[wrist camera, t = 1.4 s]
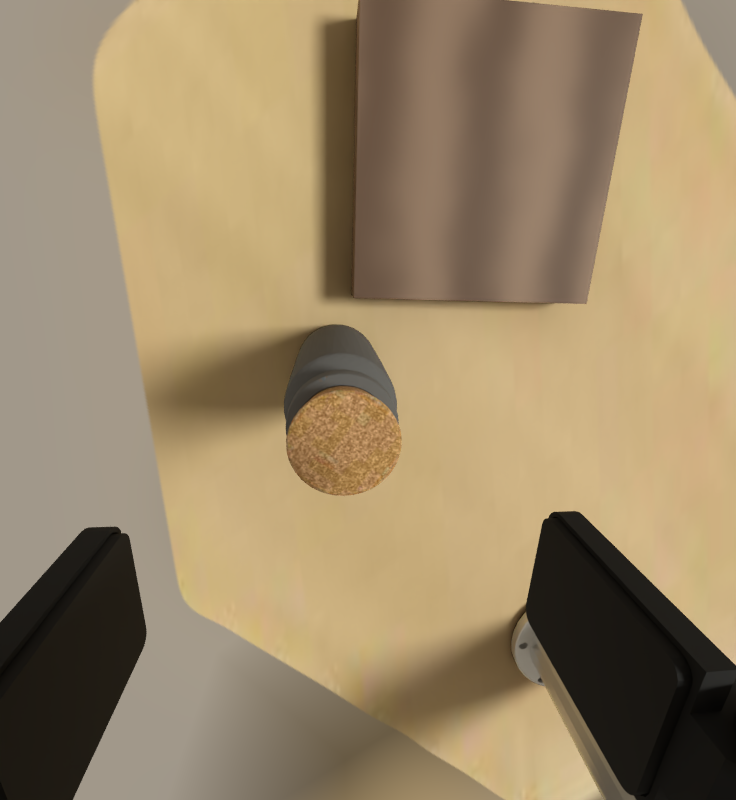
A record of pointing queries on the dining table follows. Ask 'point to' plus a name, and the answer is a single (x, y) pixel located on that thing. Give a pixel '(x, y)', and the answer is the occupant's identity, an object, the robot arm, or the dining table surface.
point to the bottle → (341, 414)
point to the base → (484, 147)
